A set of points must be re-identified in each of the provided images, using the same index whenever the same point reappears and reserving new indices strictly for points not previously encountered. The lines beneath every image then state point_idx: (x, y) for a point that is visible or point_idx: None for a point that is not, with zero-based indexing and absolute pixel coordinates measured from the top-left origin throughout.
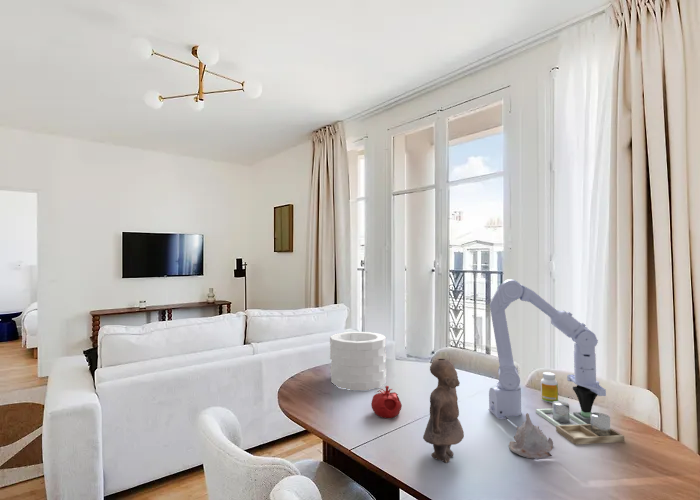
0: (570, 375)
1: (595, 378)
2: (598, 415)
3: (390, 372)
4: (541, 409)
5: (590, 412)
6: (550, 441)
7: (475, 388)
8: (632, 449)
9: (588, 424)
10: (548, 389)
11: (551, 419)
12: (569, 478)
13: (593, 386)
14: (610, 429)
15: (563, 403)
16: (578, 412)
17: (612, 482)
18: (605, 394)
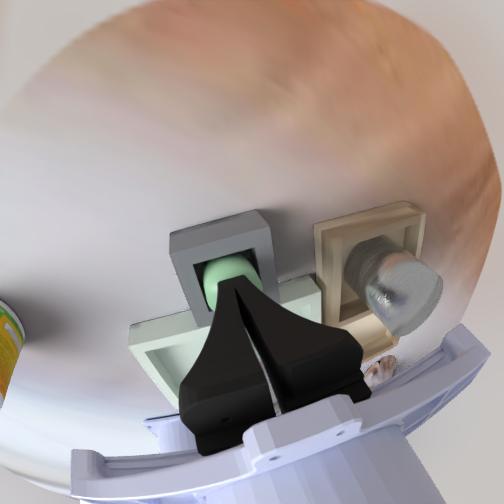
0: (102, 501)
1: (423, 470)
2: (414, 312)
3: (55, 481)
4: (174, 400)
5: (249, 277)
6: (383, 377)
7: (38, 438)
8: (421, 191)
9: (335, 300)
10: (8, 379)
11: None
12: (436, 340)
13: (426, 417)
14: (383, 233)
15: None
16: (195, 307)
17: (462, 292)
18: (466, 331)
